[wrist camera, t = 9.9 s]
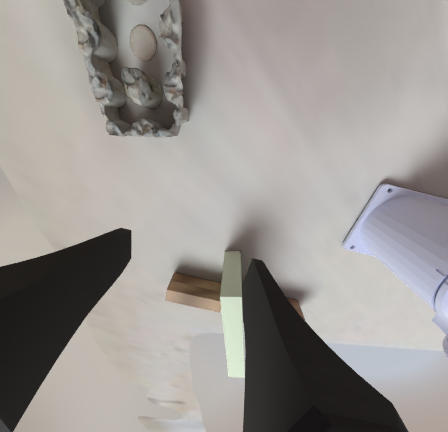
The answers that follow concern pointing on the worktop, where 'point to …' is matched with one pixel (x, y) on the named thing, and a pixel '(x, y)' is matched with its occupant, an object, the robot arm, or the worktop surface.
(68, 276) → the robot arm
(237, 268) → the long pale green beam
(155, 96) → the egg carton
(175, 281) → the walnut board
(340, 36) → the worktop surface
